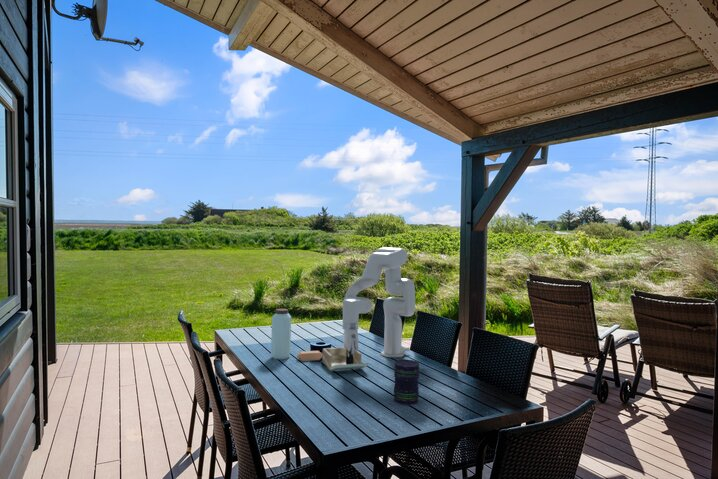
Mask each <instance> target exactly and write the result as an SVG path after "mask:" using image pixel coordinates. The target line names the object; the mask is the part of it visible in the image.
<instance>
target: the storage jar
mask: <svg viewBox="0 0 718 479" xmlns="http://www.w3.org/2000/svg"><path fill="white" fill-rule="evenodd" d="M401 358H405V355H404V356H402V357H401ZM393 371H394V373H393V376H394V386H393V401H394V402H395V404H398V405H400V406H414V405H418V403H419V396H420V393H419V392H420V391H419V378H420V362H419V361H417V360H413V359H398V360H395V361H394V369H393Z"/></svg>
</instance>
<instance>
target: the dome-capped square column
mask: <svg viewBox="0 0 718 479" xmlns="http://www.w3.org/2000/svg"><path fill="white" fill-rule="evenodd" d="M296 358H297V360H299V361H300V362H306V361H307V362H308V361H310V362H311V361H320V360H322V358H323V352H320V350H307V351H299V353H298V354H297V356H296Z"/></svg>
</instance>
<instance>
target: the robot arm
mask: <svg viewBox="0 0 718 479" xmlns="http://www.w3.org/2000/svg"><path fill="white" fill-rule="evenodd" d="M407 259H408V252H407V251H406V249H404V248H403V247H402V248H401V247H380V248H377V249H376V251H375V252H372V253H371V254H370V255H369V257H368V260H367V261H366V265H365V267H364V269H363V272H362V275H361V277H359V278H358V279H356V280H355V281H354V282H353V283H352V284H351V285H350V286H349V287H348V289H347V291H346V293H345V295H344V298H343V301H342V330H343V336H342V337H343V339H342V340H343V342H342V344H343V347H344V348H345V349H346V364H353V360H354V354H355V353H354V349H355V350H356V351H359V332H358V330H359V315H360V314H367V313H369V312H370V311H371V310H372V309H373V302H372V300H370V299H369V298H368V297H362V296H357V295H358V294H359V293H360V292H362V291H363V290H365V289H369V288H371V287H373V286H376V285H377V284H378V283H379V279H380V276H381V275H382V271H383V270H384V275H385V277H384V278H385V292H386V293H387V294H389V295H390V296H389V297H387V298H385V299H384V300H383V303H382V306H383V312H384V330H383V331H384V333H383V334H384V335H383V336H384V337H383V339H384V340H383V350H382V351H381V352H380V355H381V356H383V357H386V358H402V356H405V352H409V351H410V347H405V346H402V343H403V342H402V339H403V338H402V337H403V335H402V334H403V333H402V332H403V321H402V318H401V317H400V316H402V317H412V316H414V314H415V310H416V293H415V292H416V289H415V288H416V287H415V284H414V281H413V280H412V279H410V278H402V272H401V266H402V265H404V264H405V263H406V262H407ZM397 296H398V297H397ZM399 296H401V297H399Z"/></svg>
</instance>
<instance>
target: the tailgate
mask: <svg viewBox="0 0 718 479" xmlns="http://www.w3.org/2000/svg"><path fill="white" fill-rule="evenodd" d="M366 367H369V363H368V362H364V363H362V362H361V364H345V365H334V366H332V367H330V370H329V371H330V372H332V371H343V370H344V371H345V370H355V369H357V370H358V369H364V368H366Z"/></svg>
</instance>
